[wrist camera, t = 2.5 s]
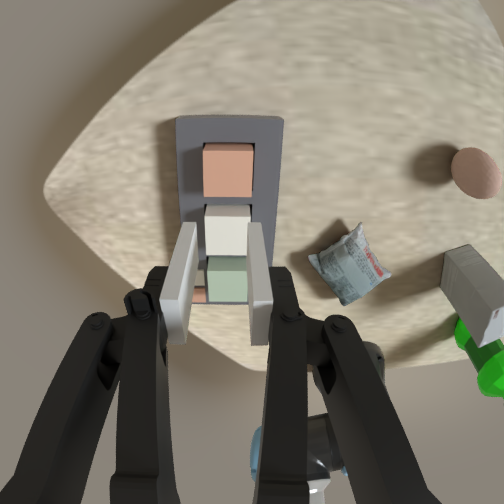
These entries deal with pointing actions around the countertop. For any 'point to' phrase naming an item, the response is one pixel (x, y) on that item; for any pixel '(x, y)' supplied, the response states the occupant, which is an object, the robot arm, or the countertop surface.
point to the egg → (476, 173)
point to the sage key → (227, 279)
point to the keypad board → (262, 201)
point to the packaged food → (349, 267)
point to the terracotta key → (227, 169)
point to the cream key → (226, 229)
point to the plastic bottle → (484, 361)
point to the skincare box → (474, 293)
